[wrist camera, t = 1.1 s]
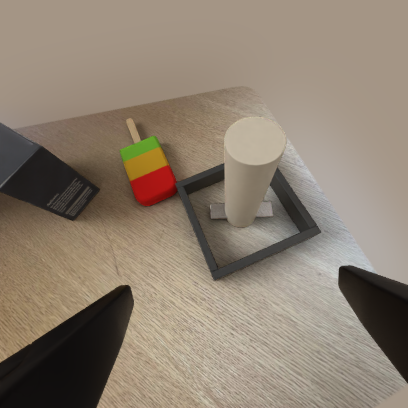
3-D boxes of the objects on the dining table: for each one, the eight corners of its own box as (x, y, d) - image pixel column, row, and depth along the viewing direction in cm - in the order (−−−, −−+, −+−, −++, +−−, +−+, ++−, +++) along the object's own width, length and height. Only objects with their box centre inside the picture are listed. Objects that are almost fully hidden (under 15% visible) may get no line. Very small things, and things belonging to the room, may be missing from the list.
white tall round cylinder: (268, 198, 24) (310, 111, 12) (272, 226, 22) (324, 161, 11) (210, 200, 24) (196, 121, 13) (211, 228, 23) (195, 169, 11)
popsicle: (142, 210, 25) (136, 205, 23) (115, 130, 31) (108, 121, 29) (182, 193, 25) (179, 186, 24) (147, 117, 31) (143, 107, 29)
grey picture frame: (311, 237, 22) (322, 232, 19) (215, 281, 21) (214, 280, 19) (260, 158, 26) (263, 146, 24) (179, 192, 25) (174, 183, 23)
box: (29, 192, 28) (-60, 151, 19) (57, 163, 29) (-14, 112, 21) (73, 223, 25) (-7, 191, 17) (101, 189, 27) (41, 143, 18)
